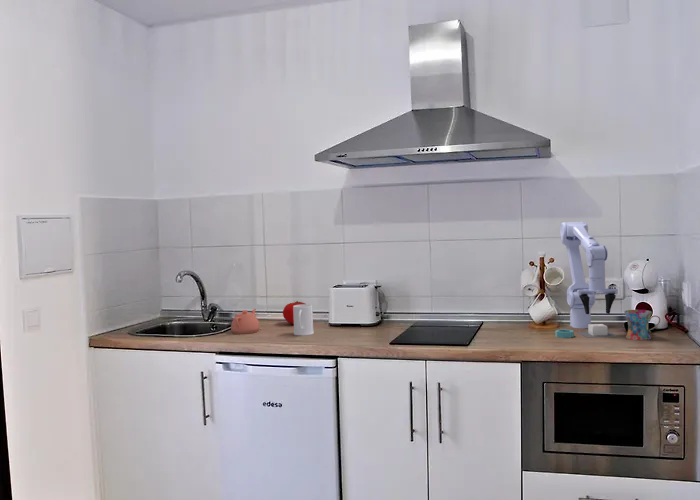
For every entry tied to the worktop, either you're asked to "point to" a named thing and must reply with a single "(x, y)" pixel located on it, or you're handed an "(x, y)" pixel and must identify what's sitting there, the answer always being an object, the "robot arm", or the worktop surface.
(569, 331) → the bowl
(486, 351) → the worktop surface
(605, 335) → the mat
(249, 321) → the teapot
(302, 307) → the mug
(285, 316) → the tomato
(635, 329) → the mug
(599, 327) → the white block
